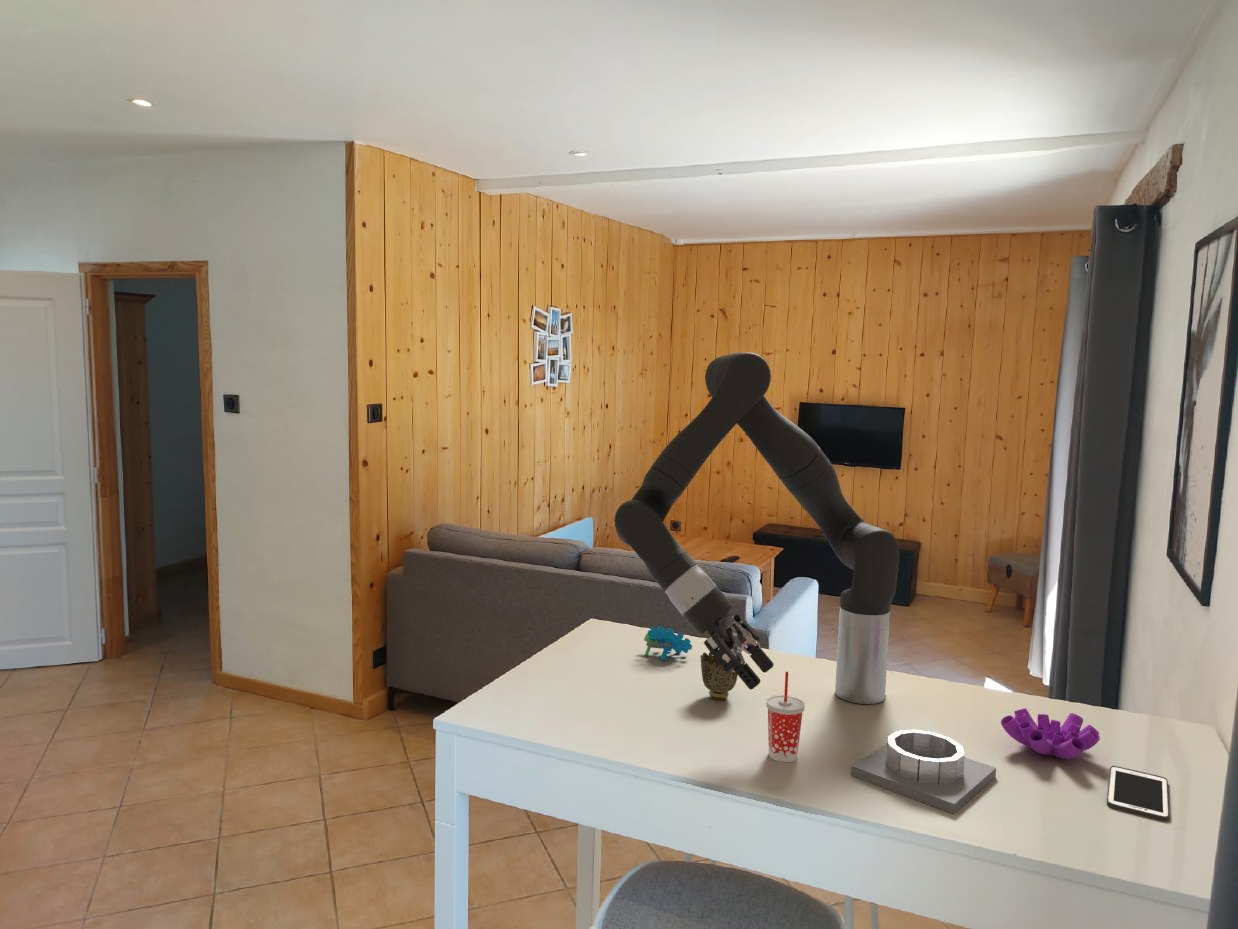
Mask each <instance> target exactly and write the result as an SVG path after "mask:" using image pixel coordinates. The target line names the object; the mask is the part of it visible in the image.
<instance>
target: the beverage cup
mask: <svg viewBox="0 0 1238 929" xmlns="http://www.w3.org/2000/svg"><path fill="white" fill-rule="evenodd" d="M784 673H785V678H784V694H780V695H779V694H778V695H771V696H769V697H767V698H766V708H767V731H768V734H767V735H768V736H767V737H768V738H767V739H768V756H769V758H770V759H772V760H773V761H776V762H780V763H791V762H795V761H797V760H798V755H799V754H798V753H799V746H800V745H799V744H800V736H801V728H802V721H803V720H802V718H803V712H804V711H805V707H806V706H805V705H806V704H805V701H803V700H802V699H800V698H798V697H797V696H795V697H794V696H791V695H788V690H789V689H788V688H789V687H788V686H789V671H785V672H784Z"/></svg>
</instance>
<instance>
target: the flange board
mask: <svg viewBox="0 0 1238 929" xmlns="http://www.w3.org/2000/svg"><path fill="white" fill-rule="evenodd" d="M911 754H914V755H916V756H919V757H926V758H934V759H939V758H936V757H933V756H930V755H923V754H915V753H911ZM886 755H887V742H885V744H883V745H882V746H880V747H878V748H877V749H875V750H874V751H872V752H870V753H869V754H868V755H865V756H864V757H863V758H862V759H860V760H858V761H857V762H855V763H854V764H852V765H851V766H850V767H851V768H850V769H851V770H850V776H852V777H855V778H858V779H860V780H863V781H864V782H865V781H866V782H868V783H871V784H873V785H876V786H879V787H882V788H884V789H886V790H889V791H892V792H894V793H897V794H900V795H903V796H905V797H907V798H911V799H913V800H916V801H918V802H921V803H924V804H926V805H929V806H932V807H934V808H937V809H939V810H942V811H944V812H947V813H949V814H952V815H955V814H956V813H957V812H958V811H959V810H960V809H961V808H962V807H963V806H965V805H966V804H967V803H968V802H969V801H970V800H971V799H972V798H973V797H975V796H976V795H977V794H978V793H979V792H980V791H982V790H983V789H984V788H985V787H986V786H987V785H989V783H991V782H992V781H993V780H994V779H995V778H996V777H997V776H996V775H997V767H996V766H993V765H989V764H985V763H982V762H980V761H977V760H974V759H971V758H968V757H965V759H964V773H963V777H962V778H960V779H959V780H958V781H957V782H955V783H948V784H940V785H939V784H938V785H937V784H929V783H922V782H918V781H917V782H916V781H914V780H911V779H908V778H905V777H903V776H900V775H898V774H897V773H895V772H894V771H893V770H892V769H890V768H889V767H888V766H887V760H886Z"/></svg>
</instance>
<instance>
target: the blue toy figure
mask: <svg viewBox="0 0 1238 929" xmlns="http://www.w3.org/2000/svg"><path fill="white" fill-rule="evenodd" d="M674 631H675V630H674V629H673V628H671V627H670V628H669V627H668V628H667V630H666V629H665V628H664V627H663V626H662V625H659V626H657V628H656V627H655V626H651V628H650V629H648V630H647V633H646V634H645V636H644V639H643V641H644V642H646V644H645V645H646V647H647V648H646V650H645V653H644V656H645V657H648V656H649V654H650V652H651V648H653V649H663V651H662V653H661V655H660V660H659V661H662V662H665V661H666V657H667V655H668V652H672V650H673V651H674V652H675V654H676V653H677V654H682V652H683V653H685V654H688V653H689V651H692V649H693V645H692V644H691V640H690V639H689V638H688V637H686V638H684V636H685V634H684V633H682V632H677V635H676V633H675V632H674Z"/></svg>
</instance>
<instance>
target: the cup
mask: <svg viewBox="0 0 1238 929" xmlns="http://www.w3.org/2000/svg"><path fill="white" fill-rule="evenodd" d="M736 658H737V657H736ZM724 661H725V662H726V663H727V661H726V660H724ZM700 668H701V677H702V678H701V680H702V682H703V684H704V687H705V688H706V689H708V690H709V692H708V695H709V697H710V699H712V700H716V701H724V700H727V698H728V697H729V694H730V693H729V692H730V691H731V690H733V688H735V685H736V684H737V681H738V677H739V676H738V675H737V673H736V672H732V671H729V672H726V671H725V670H724V669H723V668H722V666H721V665H720V664H719V662H718V661H717V660H716V659H715V657H714V656H713V655H712V653H711V652H710V651H709V652H708V654H707V653H706V652H703V653H702V654H700Z"/></svg>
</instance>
